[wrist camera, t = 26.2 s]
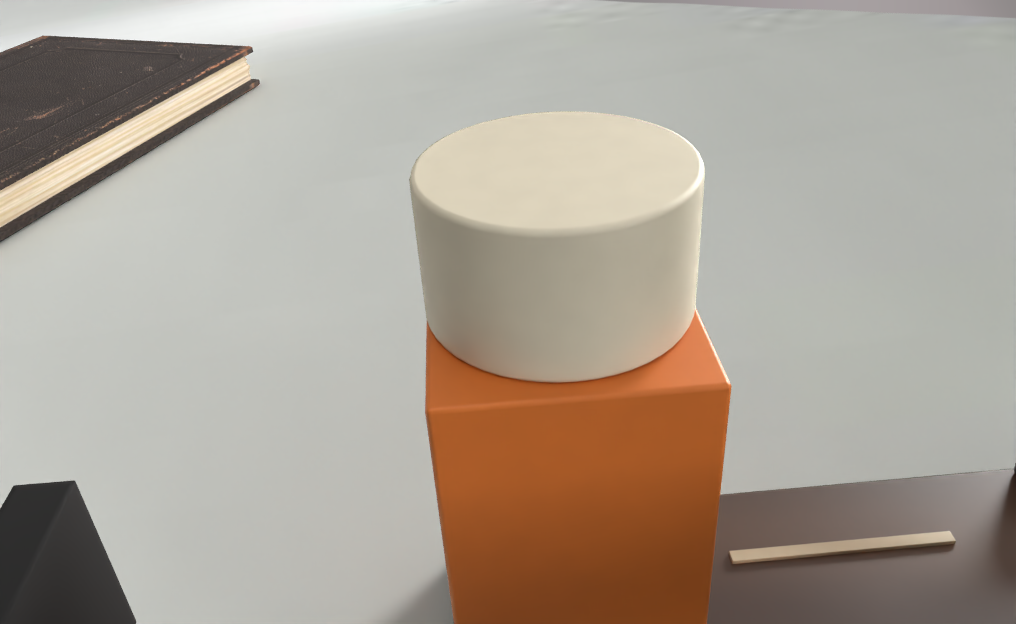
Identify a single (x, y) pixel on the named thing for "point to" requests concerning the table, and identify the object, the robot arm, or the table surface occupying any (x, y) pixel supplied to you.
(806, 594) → the board
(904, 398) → the table surface
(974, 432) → the table surface
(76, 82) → the hardcover book
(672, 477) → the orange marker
